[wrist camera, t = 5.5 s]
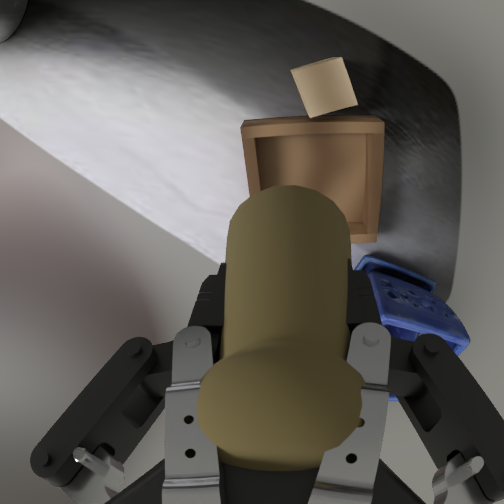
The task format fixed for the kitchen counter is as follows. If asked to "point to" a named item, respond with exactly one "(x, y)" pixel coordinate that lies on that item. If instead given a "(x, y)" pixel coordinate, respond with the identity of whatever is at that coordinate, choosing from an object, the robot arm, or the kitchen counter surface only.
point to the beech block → (324, 86)
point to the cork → (283, 336)
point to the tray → (322, 162)
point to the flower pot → (411, 305)
